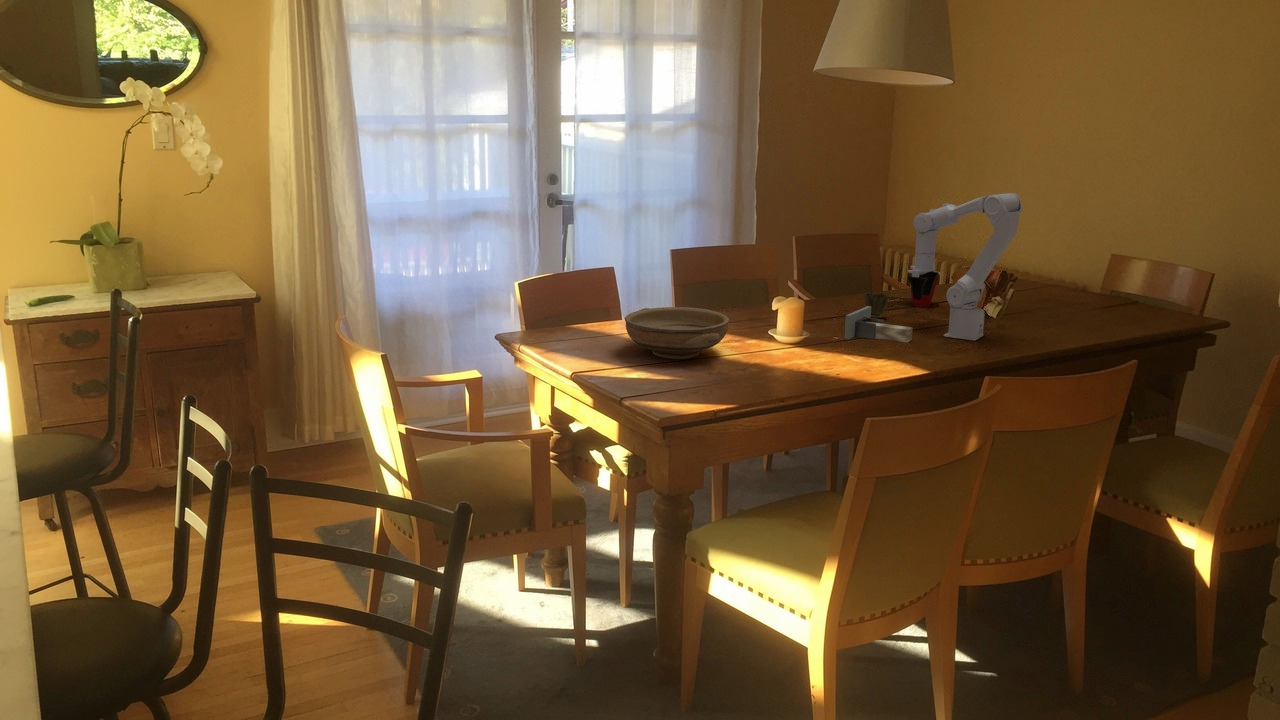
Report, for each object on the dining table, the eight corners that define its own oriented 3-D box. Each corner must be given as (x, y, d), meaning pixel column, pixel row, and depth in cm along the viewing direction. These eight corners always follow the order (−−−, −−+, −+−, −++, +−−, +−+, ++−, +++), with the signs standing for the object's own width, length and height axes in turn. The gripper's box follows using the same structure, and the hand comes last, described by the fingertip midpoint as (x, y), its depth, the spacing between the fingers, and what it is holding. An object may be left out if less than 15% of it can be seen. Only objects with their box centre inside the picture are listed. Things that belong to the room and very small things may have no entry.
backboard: (869, 329, 308) (871, 306, 306) (848, 339, 295) (849, 315, 293) (866, 328, 308) (867, 306, 307) (844, 338, 296) (845, 315, 294)
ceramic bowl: (600, 344, 289) (599, 310, 287) (686, 333, 302) (686, 300, 300) (664, 375, 258) (664, 337, 255) (757, 362, 271) (758, 325, 268)
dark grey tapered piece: (885, 316, 325) (887, 291, 323) (888, 321, 318) (890, 296, 316) (861, 315, 326) (863, 291, 324) (864, 320, 319) (866, 295, 317)
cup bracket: (883, 334, 301) (884, 319, 300) (873, 339, 295) (874, 324, 294) (864, 331, 304) (865, 317, 303) (854, 336, 299) (855, 321, 297)
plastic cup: (942, 304, 343) (945, 269, 340) (932, 310, 334) (935, 274, 331) (910, 301, 349) (913, 266, 346) (900, 306, 340) (903, 271, 337)
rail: (911, 341, 295) (912, 327, 294) (907, 343, 292) (908, 329, 291) (865, 334, 302) (866, 321, 301) (861, 337, 299) (862, 323, 298)
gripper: (920, 248, 312) (917, 291, 316) (903, 254, 301) (900, 299, 304) (943, 250, 308) (939, 294, 312) (926, 256, 297) (923, 302, 300)
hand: (921, 297), depth 308 cm, fingers open, 7 cm apart
